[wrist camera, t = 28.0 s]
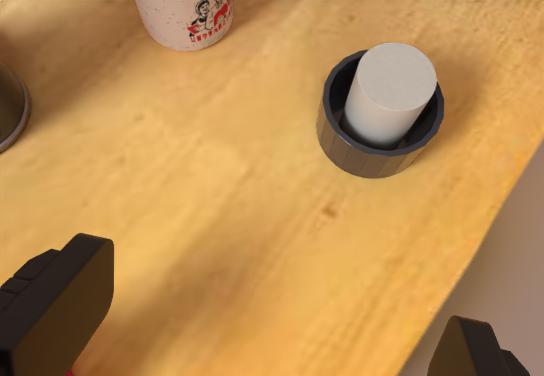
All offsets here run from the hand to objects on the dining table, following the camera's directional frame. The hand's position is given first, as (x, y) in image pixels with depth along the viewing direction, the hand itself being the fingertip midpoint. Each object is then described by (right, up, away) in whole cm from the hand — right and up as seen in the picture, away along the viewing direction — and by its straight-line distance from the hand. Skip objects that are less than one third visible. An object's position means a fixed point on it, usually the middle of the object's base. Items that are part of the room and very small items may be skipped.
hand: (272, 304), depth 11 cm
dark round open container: (+9, +8, +30) cm, 32 cm away
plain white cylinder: (+9, +8, +29) cm, 31 cm away
